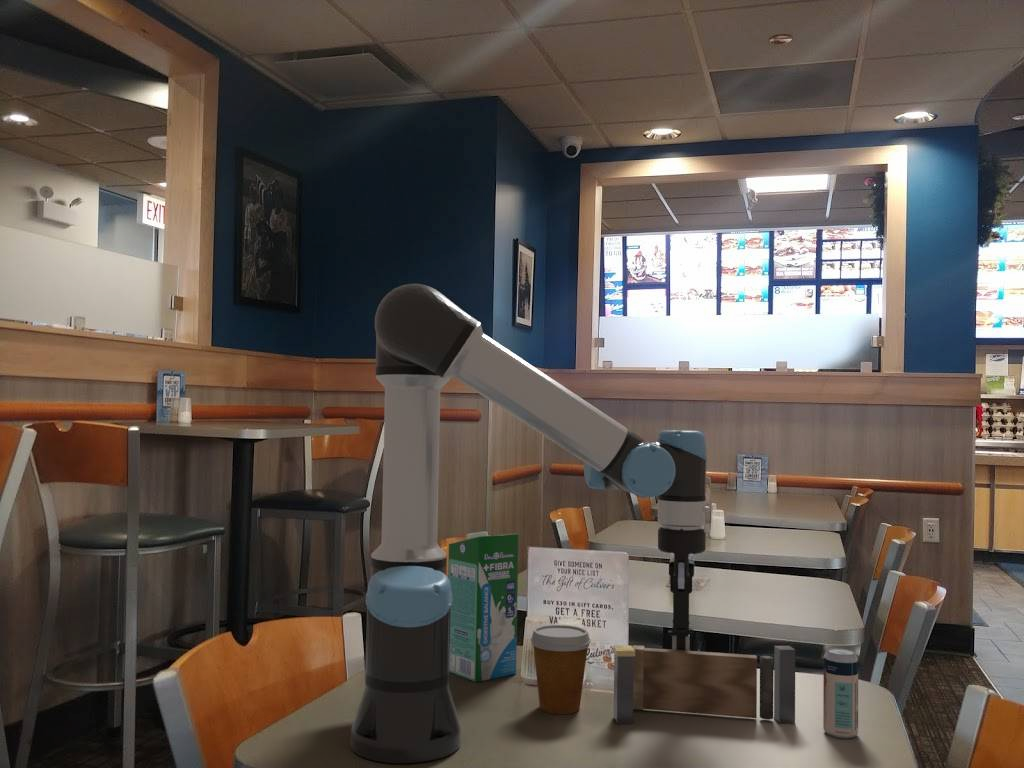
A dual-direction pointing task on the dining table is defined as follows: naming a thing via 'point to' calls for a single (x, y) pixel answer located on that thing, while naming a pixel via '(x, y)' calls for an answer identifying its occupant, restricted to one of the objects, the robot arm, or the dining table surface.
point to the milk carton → (483, 606)
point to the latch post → (623, 683)
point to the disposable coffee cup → (560, 666)
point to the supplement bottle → (840, 693)
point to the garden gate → (702, 682)
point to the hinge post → (784, 684)
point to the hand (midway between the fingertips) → (680, 675)
